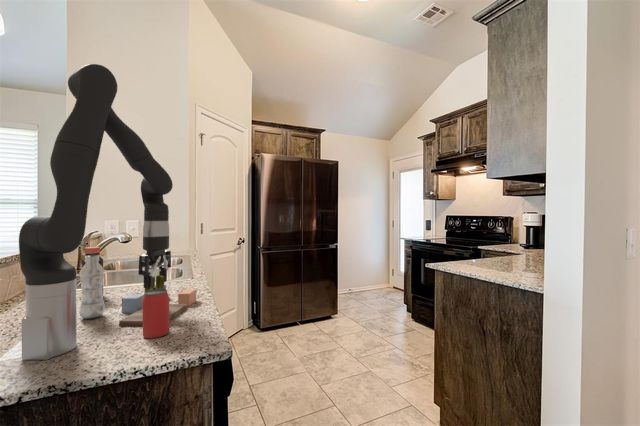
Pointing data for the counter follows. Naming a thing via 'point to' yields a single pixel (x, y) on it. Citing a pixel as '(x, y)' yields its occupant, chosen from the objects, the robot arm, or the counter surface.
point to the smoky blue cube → (132, 303)
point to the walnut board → (137, 317)
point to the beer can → (155, 313)
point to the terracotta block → (187, 297)
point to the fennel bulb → (158, 283)
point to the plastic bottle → (92, 288)
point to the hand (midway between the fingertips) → (155, 284)
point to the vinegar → (93, 252)
